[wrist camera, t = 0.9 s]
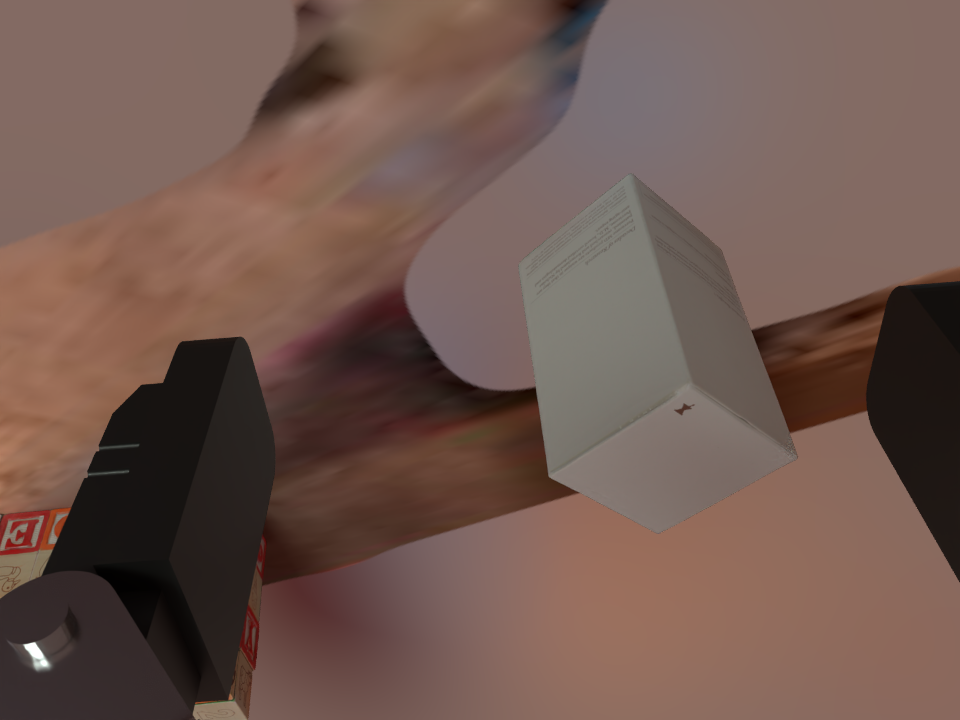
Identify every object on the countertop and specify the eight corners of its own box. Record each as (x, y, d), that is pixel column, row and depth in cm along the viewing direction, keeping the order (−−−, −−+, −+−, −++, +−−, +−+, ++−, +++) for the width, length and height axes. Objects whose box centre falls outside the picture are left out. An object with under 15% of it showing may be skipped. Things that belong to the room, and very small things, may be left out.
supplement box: (512, 262, 44) (540, 477, 35) (631, 166, 40) (695, 381, 32) (609, 331, 48) (656, 540, 39) (726, 250, 44) (805, 461, 36)
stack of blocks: (-46, 569, 61) (-115, 758, 53) (-96, 519, 56) (-180, 717, 48) (269, 541, 61) (249, 725, 53) (245, 488, 56) (219, 681, 48)
